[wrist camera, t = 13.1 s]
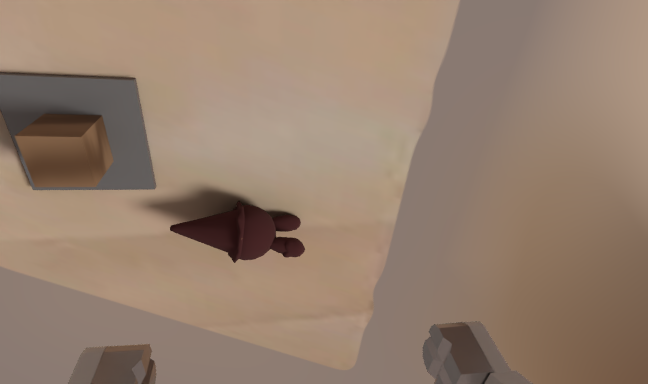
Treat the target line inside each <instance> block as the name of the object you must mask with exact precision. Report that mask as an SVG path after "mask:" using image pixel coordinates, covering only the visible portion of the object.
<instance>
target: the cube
mask: <svg viewBox="0 0 648 384" xmlns="http://www.w3.org/2000/svg"><path fill="white" fill-rule="evenodd" d="M15 138H16V141H17V143H18V146H19V148H20V151H21V153H22V156H23V158H24V161H25V163H26V166H27V168H28V171H29V173H30V176H31V178H32V181H33V183H34V186H35V187H96V186H97V184H98V183H99V182H100V180H101V179H102V177H103V176H104V174H105V173H106V172H107V170H108V169H109V167H110V166H111V164H112V163H113V157H112V153H111V149H110V145H109V141H108V137H107V133H106V129H105V125H104V121H103V117H102V115H72V114H43V115H42V116H40V117H39V118H38V119H36V120H35V121H34V122H32V123H31V124H30V125H28V126H27V127H26V128H24V129H23V130H22V131H20V132H19V133H18V134H16V135H15Z"/></svg>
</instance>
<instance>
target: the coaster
mask: <svg viewBox="0 0 648 384" xmlns="http://www.w3.org/2000/svg"><path fill="white" fill-rule="evenodd" d="M0 110H1V112H2V115H3V117H4V120H5V122H6V125H7V127H8V130H9V132H10V135H11V137H12V139H13V142H14V144H15V147H16V149H17V152H18V154H19V157H20V159H21V162H22V164H23V166H24V169H25V171H26V174H27V176H28V179H29V181H30V184H31V186H32V189H33V190H126V189H155V188H156V183H155V178H154V172H153V167H152V162H151V156H150V151H149V146H148V141H147V135H146V130H145V125H144V120H143V114H142V109H141V104H140V98H139V93H138V88H137V83H136V79H135V78H112V77H89V76H66V75H43V74H20V73H0ZM43 114H72V115H102V117H103V121H104V125H105V129H106V133H107V137H108V141H109V145H110V149H111V153H112V157H113V163H112V164H111V166H110V167H109V169H108V170H107V172H106V173H105V174H104V176H103V177H102V179H101V180H100V182H99V183H98V184H97V186H96V187H35V186H34V183H33V181H32V178H31V176H30V173H29V171H28V168H27V166H26V163H25V161H24V158H23V156H22V153H21V151H20V148H19V146H18V143H17V141H16V138H15V135H16V134H18V133H19V132H20V131H22V130H23V129H24V128H26V127H27V126H28V125H30V124H31V123H32V122H34V121H35V120H36V119H38V118H39V117H40V116H42V115H43Z"/></svg>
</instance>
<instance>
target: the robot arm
mask: <svg viewBox="0 0 648 384" xmlns="http://www.w3.org/2000/svg"><path fill="white" fill-rule="evenodd" d="M429 333H430V336H431V337H429V338H428V339H427V340H425V343H424V345H423V359H424V363H425V366H426V369H427V372H428V373H429V374H430V375H432V376H433V377H434V378H435V382H434V384H533V383H531V382H530V381H529V380H527V379H526V378H525V377H523V376H522V375H521V374H520V373H518V372H517V371H511V369H510V368H509V366H508V365H507V363H506V361H505V360H504V358H503V356H502V355H501V353H500V351H499V350H498V348H497V346H496V345H495V343H494V341H493V340H492V338H491V337H490V335H489V333H488V331H487V330H486V328H485V326H484V325H483V324H482V323H481V322H477V321H475V322H458V323H446V324H434V325H433V326H431V328H430V330H429ZM151 352H152V350H151V347H150V344H144V345H143V344H142V345H125V346H104V347H89V348H86V349H85V350H84V351H83V352H82V354H81V355H80V357H79V360H78V362H77V364H76V366H75V369H74V371H73V374H72V376H71V378H70V380H69V382H68V384H155V381H156V365H155V362H154V360H152V359H150V357H151Z"/></svg>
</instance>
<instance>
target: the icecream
mask: <svg viewBox="0 0 648 384" xmlns="http://www.w3.org/2000/svg"><path fill="white" fill-rule="evenodd" d="M300 223H301V222H300V219H299V218H298V217H297V216H293V215H282V216H276V217H274V218H272V217H271V216H270V215H269V214H268V213H267V212H266V211H264V210H262V209H261V208H259V207H256V206H251V205H243V206H242V204H241V203H240V201H238V202H237V207H236V208H235V209H234V210H233V211H229V212H225V213H221V214H217V215H213V216H209V217H205V218H201V219H197V220H193V221H188V222H184V223H179V224H175V225H171V227H170V231H173V232H175V233H178V234H180V235H183V236H186V237H188V238H191V239H194V240H196V241H199V242H201V243H204V244H207V245H209V246H212V247H215V248H217V249H220V250H223V251H225V252H228V255H229V256H230V257H231V258H232V260H233V262H234V263H235V262H236V261H237V260H238V259H242V260H252V259H256V258H258V257H261V256H263V255H264V254H265V253H266V252H267V251H269V250H270V249H272V250H274V251H276V252H278V253H282V254H283V256H284V257H298V256H300V255H301V254H303V253H304V250H305V248H304V246H303V244H302V242H300V241H299V240H298V239H296V238H287V237H277V238H276V231H292V230H296V229H297V228H298V227H299V226H300Z"/></svg>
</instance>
